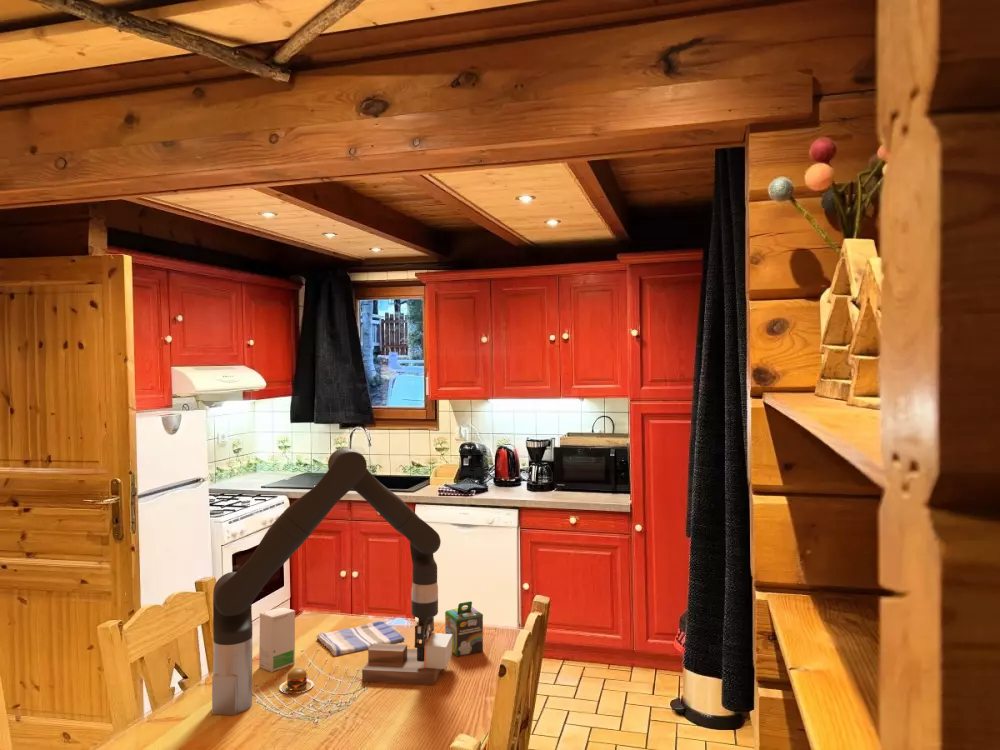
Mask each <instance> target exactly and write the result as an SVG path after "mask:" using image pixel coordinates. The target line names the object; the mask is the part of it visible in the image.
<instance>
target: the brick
mask: <svg viewBox="0 0 1000 750" xmlns="http://www.w3.org/2000/svg"><path fill="white" fill-rule="evenodd" d="M452 656H453V653H452V634H446V633H439V632H433V633H432V634H431V636H430V637H429V639H428V641H427V643H426V646H425V650H424V668H436V669H441V670H446V669H447V667H448V665H449V662H450V660H451V658H452Z"/></svg>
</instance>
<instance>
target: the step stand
mask: <svg viewBox="0 0 1000 750" xmlns="http://www.w3.org/2000/svg"><path fill="white" fill-rule="evenodd" d="M367 651H368V652H367V658H368V659H367V663H366V664H365V665H364V666H363V668H362V669H361V675H362V676H361V682H362V683H381V684H399V685H403V684H404V685H417V686H418V685H419V686H420V685H421V686H424V685H425V686H435V684H436V682H437V679H438V678H439V675H440V673H441V671H442V669H436V668H424V662H421V661H417V648H408V644H399V643H393V644H378V643H373V645H372V646H371V647H370V648H369V649H367Z"/></svg>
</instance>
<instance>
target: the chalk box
mask: <svg viewBox="0 0 1000 750" xmlns="http://www.w3.org/2000/svg"><path fill="white" fill-rule="evenodd" d="M472 605H473V601H465V602H460V603H458V606H457V608H455V609H449V610H446V611H445V612H444V613H445V615H444V617H445V618H444V621H445V625H444V626H445V634H452V654H453V655H455V656H456V657H463V656H468V655H472V654H477V653H482V652H484V614H483V613H481V612H480V611H478V610H477V609H475V608H474V607H472Z"/></svg>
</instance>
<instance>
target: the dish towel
mask: <svg viewBox="0 0 1000 750" xmlns="http://www.w3.org/2000/svg"><path fill="white" fill-rule="evenodd" d="M315 637H316V638H317V640H319V642H320V643H321V644H322V645H323V644H324V645H323V646H324V647H325V646H326V647H327V648H328V649H329V650H330V651H331V652H330V651H329V650H328V649H327V648H326V647H325V648H326V649H327V650H328V651H329V652H330V653H331V654H332V655H333V656H334V657H336V656H337V657H338V656H342V655H346V654H351V653H357V652H358V653H359V652H363V651H368V650H369V648H370V647H371V646H372V645H373V643H378V644H399V643H401V642H404V640H405V637H404V636H403V635H401V634H400V633H399V632H398V631H396V629H394V628H392V627H391V626H389V624H387V623H385V622H384V621H382V620H378V621H375V622H369V623H364V624H361V625H358V626H355V627H351V628H350V627H348V628H343V629H338V630H335V631H334V630H333V631H330V632H319V633H318V634H316V636H315Z"/></svg>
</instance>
